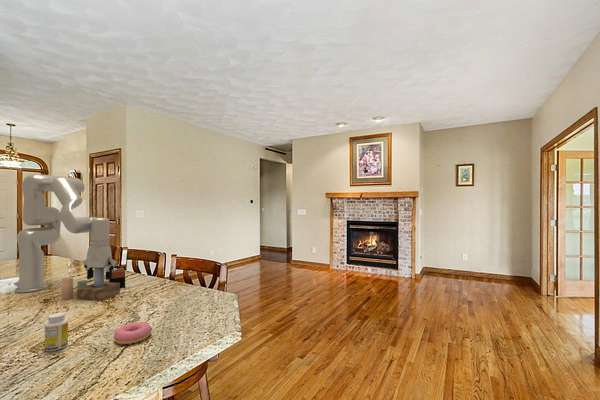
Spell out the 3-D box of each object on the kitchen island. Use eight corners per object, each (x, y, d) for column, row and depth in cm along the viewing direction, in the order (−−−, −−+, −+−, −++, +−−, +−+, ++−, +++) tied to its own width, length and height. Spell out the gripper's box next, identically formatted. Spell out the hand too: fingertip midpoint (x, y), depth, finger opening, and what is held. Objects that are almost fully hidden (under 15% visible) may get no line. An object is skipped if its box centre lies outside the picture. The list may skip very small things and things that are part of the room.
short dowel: (75, 294, 143) (75, 282, 143) (82, 291, 147) (82, 279, 147) (82, 294, 143) (82, 282, 143) (89, 292, 147) (89, 280, 147)
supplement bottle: (65, 341, 94) (65, 310, 95) (69, 347, 91) (70, 314, 91) (42, 348, 90) (43, 315, 90) (46, 354, 87) (46, 319, 87)
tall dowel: (91, 297, 139) (92, 267, 139) (98, 294, 143) (99, 266, 143) (99, 297, 138) (99, 268, 138) (106, 295, 142) (106, 266, 142)
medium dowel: (59, 299, 135) (60, 280, 135) (67, 296, 139) (67, 277, 139) (67, 300, 135) (67, 280, 135) (75, 297, 139) (75, 278, 139)
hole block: (77, 299, 135) (77, 288, 135) (98, 291, 147) (98, 281, 147) (100, 300, 134) (100, 289, 134) (119, 292, 146) (119, 282, 146)
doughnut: (136, 348, 91) (136, 334, 91) (105, 345, 93) (105, 332, 93) (158, 332, 102) (158, 320, 102) (130, 330, 104) (130, 318, 104)
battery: (125, 287, 155) (125, 268, 155) (110, 289, 151) (110, 270, 151) (123, 285, 159) (123, 267, 159) (108, 288, 154) (108, 269, 154)
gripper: (77, 244, 138) (76, 280, 138) (110, 244, 136) (109, 281, 136) (90, 241, 146) (89, 276, 145) (122, 242, 143) (121, 277, 143)
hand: (99, 278), depth 141 cm, fingers open, 9 cm apart
